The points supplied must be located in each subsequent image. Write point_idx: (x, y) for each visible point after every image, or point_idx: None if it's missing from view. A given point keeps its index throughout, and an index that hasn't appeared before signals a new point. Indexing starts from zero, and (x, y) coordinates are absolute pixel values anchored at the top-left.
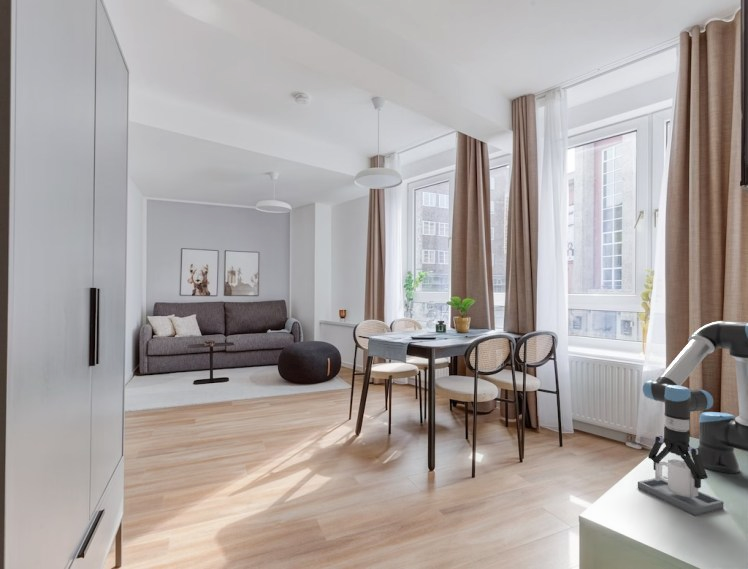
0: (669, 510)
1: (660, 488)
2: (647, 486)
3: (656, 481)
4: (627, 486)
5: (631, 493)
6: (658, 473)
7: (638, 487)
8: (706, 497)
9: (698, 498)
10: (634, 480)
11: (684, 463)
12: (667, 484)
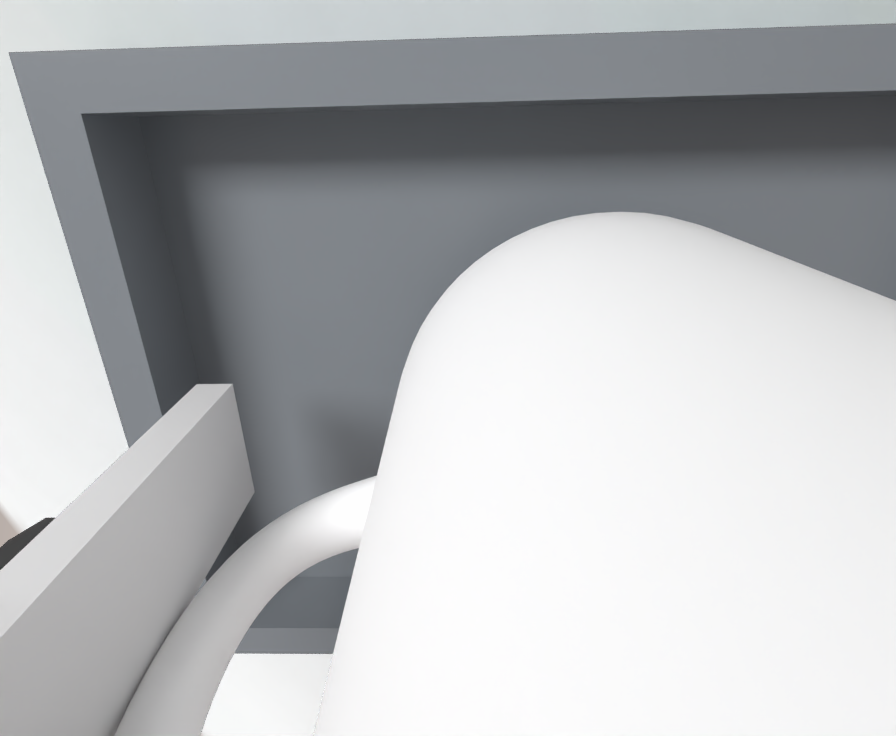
0: None
1: (305, 397)
2: (321, 649)
3: (163, 347)
4: None
5: (315, 710)
6: (241, 636)
7: None
8: (858, 93)
9: (710, 145)
10: (26, 451)
11: (832, 664)
12: (205, 146)
